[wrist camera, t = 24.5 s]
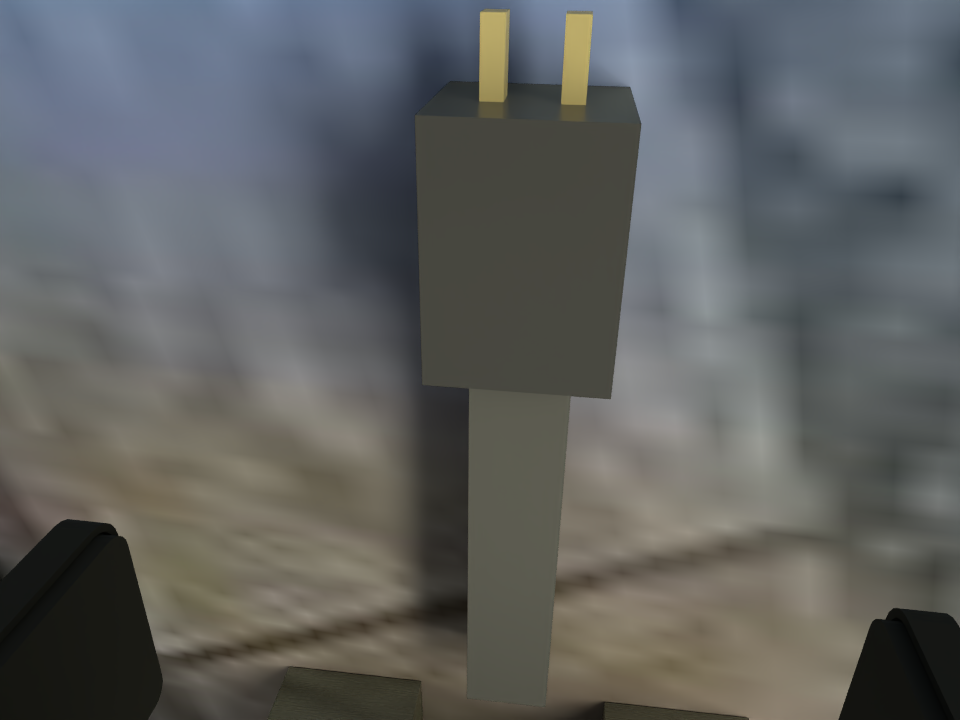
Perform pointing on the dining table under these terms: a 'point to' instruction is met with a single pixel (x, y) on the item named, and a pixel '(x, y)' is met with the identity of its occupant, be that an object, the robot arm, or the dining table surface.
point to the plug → (521, 316)
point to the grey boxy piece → (400, 700)
